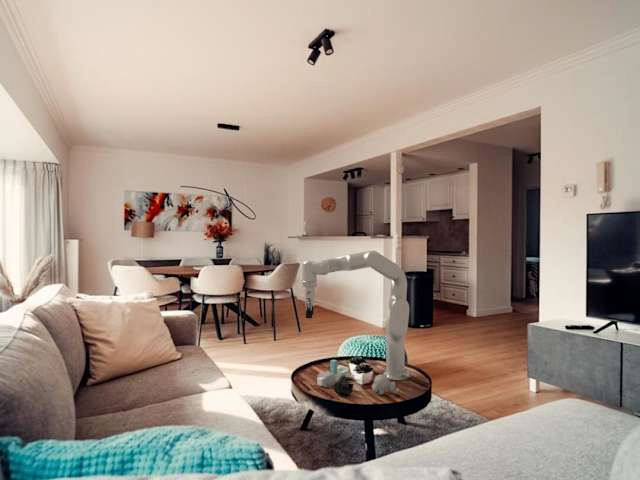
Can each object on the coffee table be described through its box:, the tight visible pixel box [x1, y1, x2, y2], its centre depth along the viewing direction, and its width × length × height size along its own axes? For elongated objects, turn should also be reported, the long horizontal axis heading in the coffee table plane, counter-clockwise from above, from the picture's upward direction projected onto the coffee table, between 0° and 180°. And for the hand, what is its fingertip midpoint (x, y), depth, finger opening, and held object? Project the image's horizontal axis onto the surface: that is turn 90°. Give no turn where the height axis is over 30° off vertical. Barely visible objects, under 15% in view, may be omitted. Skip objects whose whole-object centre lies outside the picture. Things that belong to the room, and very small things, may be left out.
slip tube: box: [316, 359, 338, 387], centre depth 194 cm, size 3×12×9 cm, turn 137°
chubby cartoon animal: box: [371, 373, 400, 396], centre depth 181 cm, size 7×12×8 cm, turn 83°
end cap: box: [332, 375, 354, 398], centre depth 183 cm, size 10×7×7 cm
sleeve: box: [317, 370, 336, 389], centre depth 193 cm, size 5×7×5 cm
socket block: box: [336, 364, 351, 381], centre depth 201 cm, size 7×6×6 cm
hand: (309, 316), depth 207 cm, fingers open, 9 cm apart
